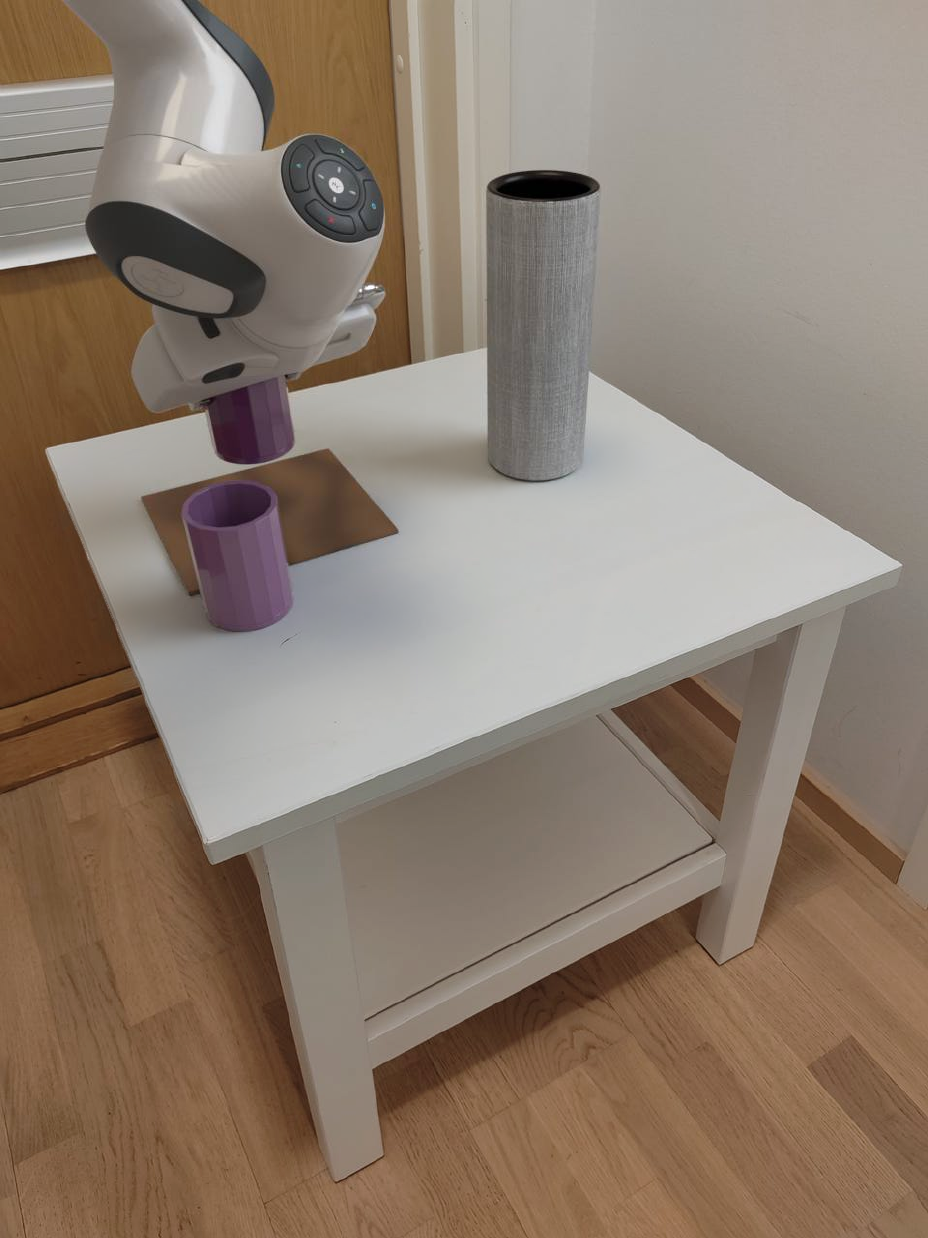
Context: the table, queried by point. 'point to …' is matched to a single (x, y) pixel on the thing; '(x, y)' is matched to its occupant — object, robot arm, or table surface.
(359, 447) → the table surface
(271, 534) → the mauve cup
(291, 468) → the placemat
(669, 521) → the table surface
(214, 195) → the robot arm
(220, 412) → the plum cup
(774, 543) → the table surface
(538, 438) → the vase
